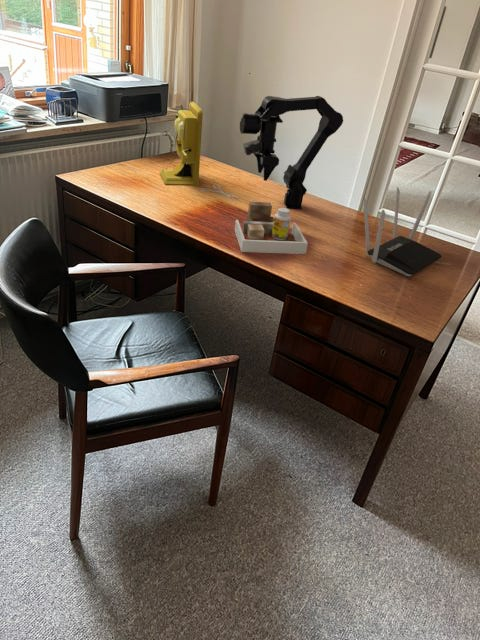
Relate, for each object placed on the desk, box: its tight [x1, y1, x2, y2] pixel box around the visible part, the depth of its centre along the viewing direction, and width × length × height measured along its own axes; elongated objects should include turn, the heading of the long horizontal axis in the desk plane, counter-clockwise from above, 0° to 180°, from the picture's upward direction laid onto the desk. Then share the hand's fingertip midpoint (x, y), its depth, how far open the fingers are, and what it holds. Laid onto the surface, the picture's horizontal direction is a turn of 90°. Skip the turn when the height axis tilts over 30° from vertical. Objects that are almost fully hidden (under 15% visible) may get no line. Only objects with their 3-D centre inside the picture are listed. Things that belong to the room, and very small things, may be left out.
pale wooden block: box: [246, 224, 265, 240], centre depth 165 cm, size 5×5×4 cm
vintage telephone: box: [158, 101, 204, 187], centre depth 199 cm, size 31×14×30 cm, turn 17°
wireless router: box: [363, 186, 442, 277], centre depth 159 cm, size 34×23×20 cm
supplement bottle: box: [271, 207, 292, 241], centre depth 164 cm, size 6×6×10 cm
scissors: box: [196, 184, 243, 202], centre depth 198 cm, size 11×1×20 cm
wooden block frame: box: [242, 201, 274, 235], centre depth 173 cm, size 16×16×6 cm
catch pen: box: [234, 219, 308, 255], centre depth 162 cm, size 22×17×4 cm
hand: (262, 176), depth 184 cm, fingers open, 9 cm apart
